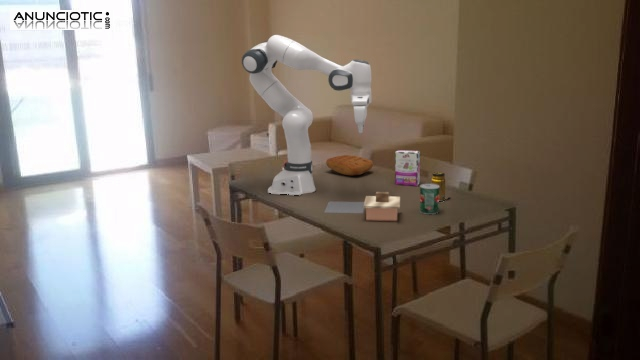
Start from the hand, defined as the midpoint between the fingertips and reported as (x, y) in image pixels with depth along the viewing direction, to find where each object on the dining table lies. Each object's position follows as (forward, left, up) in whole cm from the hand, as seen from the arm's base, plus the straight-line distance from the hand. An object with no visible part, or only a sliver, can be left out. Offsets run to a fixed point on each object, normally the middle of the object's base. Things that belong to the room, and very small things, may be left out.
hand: (361, 130), depth 259 cm
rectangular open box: (+10, -24, -31) cm, 40 cm away
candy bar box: (+20, +28, -31) cm, 47 cm away
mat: (-6, -13, -31) cm, 34 cm away
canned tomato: (+29, -15, -31) cm, 45 cm away
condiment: (+34, +4, -31) cm, 46 cm away
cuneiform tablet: (-10, +50, -31) cm, 60 cm away
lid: (+10, -24, -25) cm, 36 cm away
